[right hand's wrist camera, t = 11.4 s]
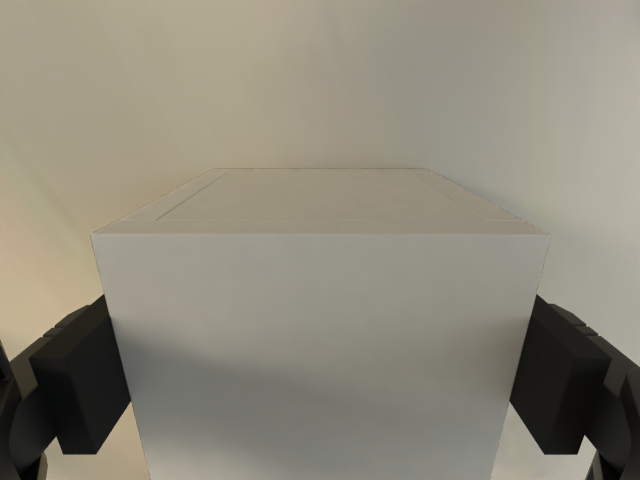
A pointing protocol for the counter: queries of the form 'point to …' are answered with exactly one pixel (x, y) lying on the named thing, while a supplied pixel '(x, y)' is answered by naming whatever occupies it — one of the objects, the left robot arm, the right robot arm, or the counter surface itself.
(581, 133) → the counter surface
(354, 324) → the cabinet
